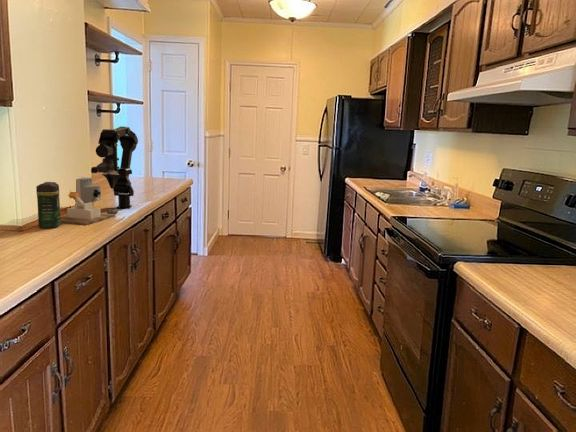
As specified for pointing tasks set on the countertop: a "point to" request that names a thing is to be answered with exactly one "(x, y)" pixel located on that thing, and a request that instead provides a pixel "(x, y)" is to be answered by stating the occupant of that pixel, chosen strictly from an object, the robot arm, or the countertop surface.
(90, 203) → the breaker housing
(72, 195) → the lever
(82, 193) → the circuit breaker
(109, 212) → the twin rounded prongs
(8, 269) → the countertop surface
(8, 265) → the countertop surface
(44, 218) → the coffee jar
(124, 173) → the robot arm
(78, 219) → the mounting board
